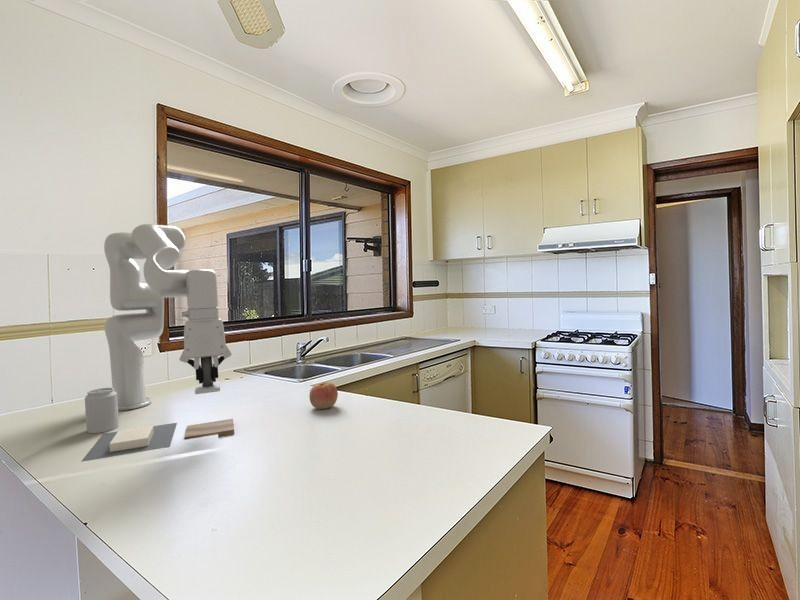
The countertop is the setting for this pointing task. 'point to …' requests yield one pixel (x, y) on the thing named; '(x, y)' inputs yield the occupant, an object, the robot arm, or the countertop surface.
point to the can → (101, 410)
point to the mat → (158, 440)
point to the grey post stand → (207, 378)
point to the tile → (131, 438)
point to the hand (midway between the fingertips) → (207, 381)
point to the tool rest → (210, 429)
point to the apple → (323, 395)
